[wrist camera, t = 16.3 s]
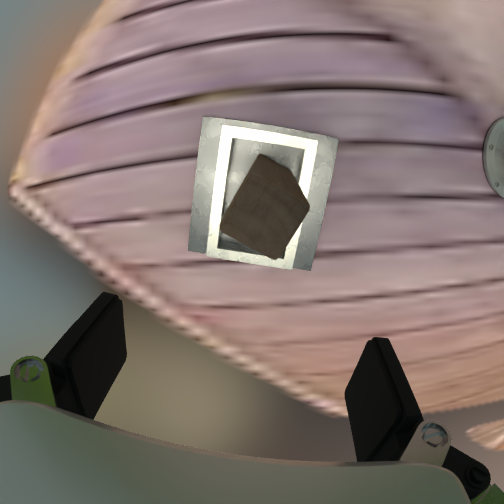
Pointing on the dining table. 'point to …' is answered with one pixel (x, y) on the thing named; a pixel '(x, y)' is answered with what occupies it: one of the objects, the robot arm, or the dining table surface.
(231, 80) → the dining table surface
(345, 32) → the dining table surface
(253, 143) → the end cap
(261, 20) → the dining table surface
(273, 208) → the wooden block
